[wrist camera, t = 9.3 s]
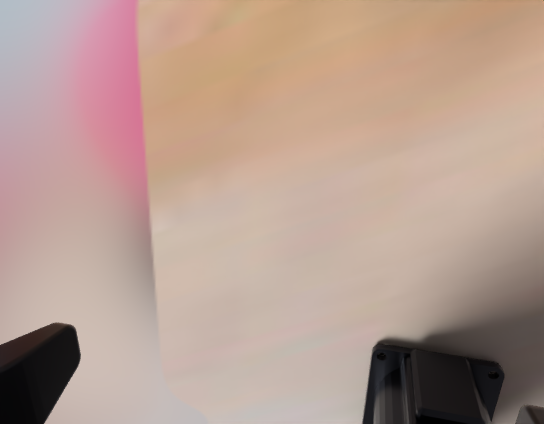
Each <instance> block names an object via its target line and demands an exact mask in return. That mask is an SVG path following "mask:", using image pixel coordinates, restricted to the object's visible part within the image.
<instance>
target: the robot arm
mask: <svg viewBox="0 0 544 424" xmlns="http://www.w3.org/2000/svg"><path fill="white" fill-rule="evenodd" d="M379 353H384V354H385V355H383V356H381V355H378V354H379ZM80 357H81V354H80V348H79V342H78V337H77V332H76V329H75V327H74V326H72V325H70V324H64V323H53V324H50V325H47V326H45V327H43V328H40V329H38V330H35V331H33V332H30V333H28V334H26V335H23V336H21V337H18V338H16V339H14V340H11V341H9V342H7V343H4V344H1V345H0V424H44V423H45V421H46V420H47V418H48V416H49V415H50V413H51V411H52V410H53V408H54V406H55V404H56V403H57V401H58V399H59V397H60V396H61V394H62V393H63V391H64V389H65V387H66V386H67V384H68V382H69V381H70V379H71V377H72V376H73V374H74V372H75V371H76V369H77V367H78V365H79V362H80ZM491 371H495V372H496V373H494V374H490V373H489V372H491ZM503 380H504V372H503V369H502V367H501V365H499V364H498V363H495V362H490V361H484V360H478V359H472V358H465V357H460V356H453V355H447V354H441V353H435V352H428V351H422V350H416V349H409V348H403V347H397V346H391V345H384V344H378V345H375V346H374V347H373V349H372V355H371V362H370V369H369V377H368V384H367V391H366V399H365V406H364V413H363V421H362V424H491V421H492V418H493V414H494V411H495V407H496V404H497V401H498V397H499V394H500V390H501V387H502V383H503ZM515 424H544V407H538V406H533V405H523V406H522V407H521V409H520V411H519V414H518V417H517V420H516V423H515Z"/></svg>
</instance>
